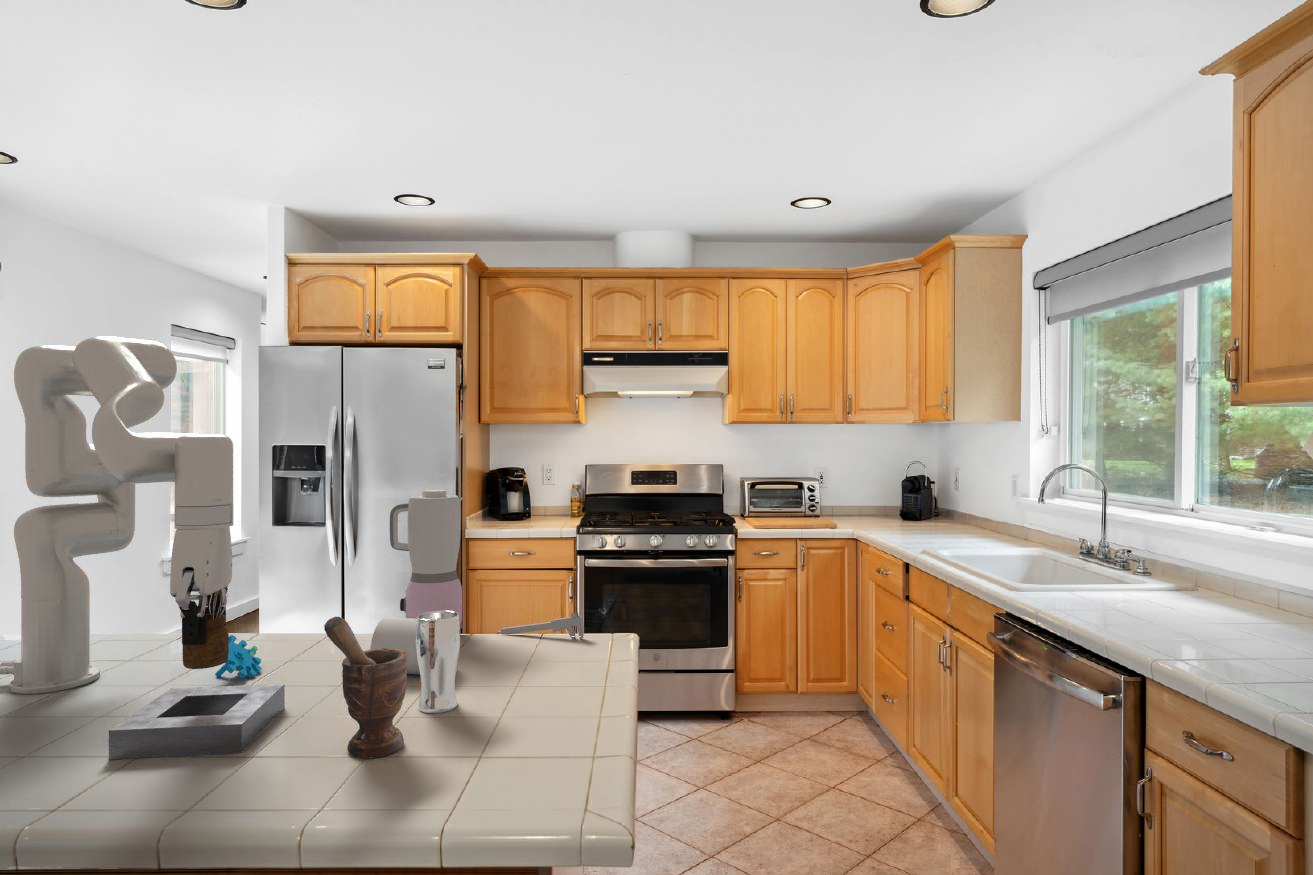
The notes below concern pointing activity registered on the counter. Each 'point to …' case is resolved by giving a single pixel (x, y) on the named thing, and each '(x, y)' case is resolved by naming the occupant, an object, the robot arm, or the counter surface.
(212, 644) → the utensil holder
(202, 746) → the hollow square block
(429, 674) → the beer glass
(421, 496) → the blender
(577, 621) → the caliper
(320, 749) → the counter surface
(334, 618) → the mortar and pestle
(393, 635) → the toilet paper
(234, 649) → the gear
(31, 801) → the counter surface
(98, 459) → the robot arm
